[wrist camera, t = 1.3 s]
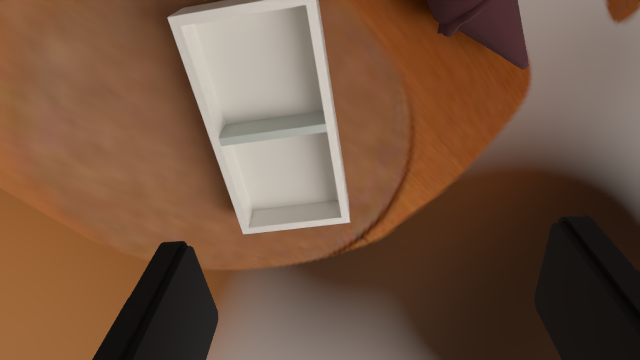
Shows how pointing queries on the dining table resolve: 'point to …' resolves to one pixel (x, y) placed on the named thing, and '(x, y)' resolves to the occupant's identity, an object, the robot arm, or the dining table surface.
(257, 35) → the white divided tray
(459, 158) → the dining table surface
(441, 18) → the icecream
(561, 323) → the robot arm
